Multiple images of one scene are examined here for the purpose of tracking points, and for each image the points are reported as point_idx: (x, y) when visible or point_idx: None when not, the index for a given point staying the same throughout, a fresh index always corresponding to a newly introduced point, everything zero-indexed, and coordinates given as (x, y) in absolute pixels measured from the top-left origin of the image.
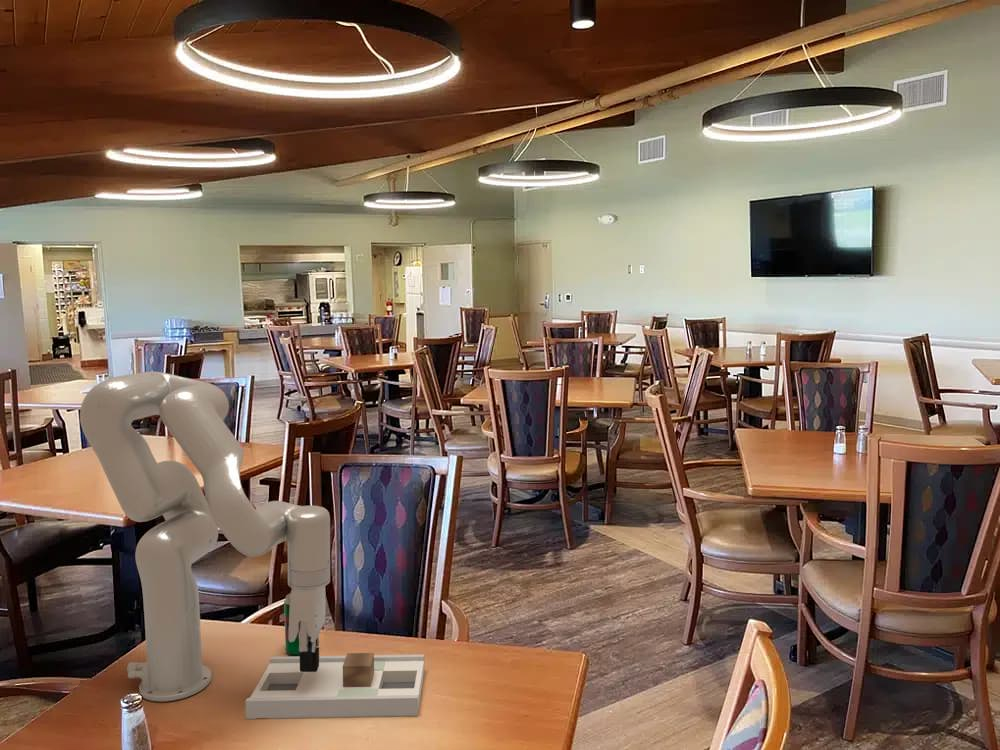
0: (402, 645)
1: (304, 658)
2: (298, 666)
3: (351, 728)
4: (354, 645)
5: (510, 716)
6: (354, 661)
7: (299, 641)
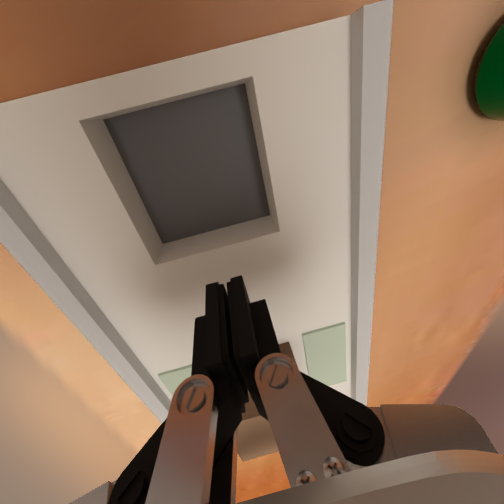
0: (453, 331)
1: (195, 360)
2: (321, 189)
3: (123, 384)
4: (487, 241)
5: (237, 483)
6: (259, 432)
7: (147, 501)
